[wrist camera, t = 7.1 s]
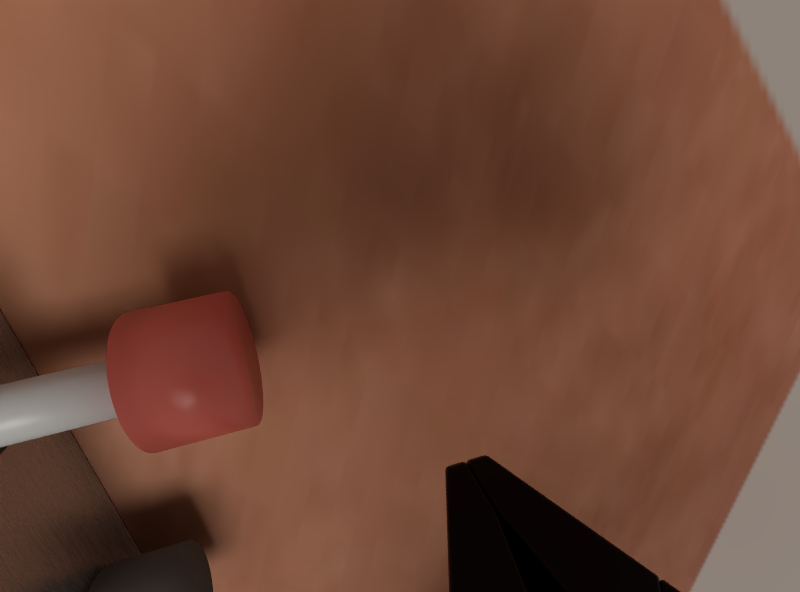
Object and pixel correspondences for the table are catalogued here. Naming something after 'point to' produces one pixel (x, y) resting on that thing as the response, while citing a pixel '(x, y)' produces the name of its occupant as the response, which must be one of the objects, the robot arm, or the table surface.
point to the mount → (52, 505)
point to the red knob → (151, 380)
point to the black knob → (158, 571)
